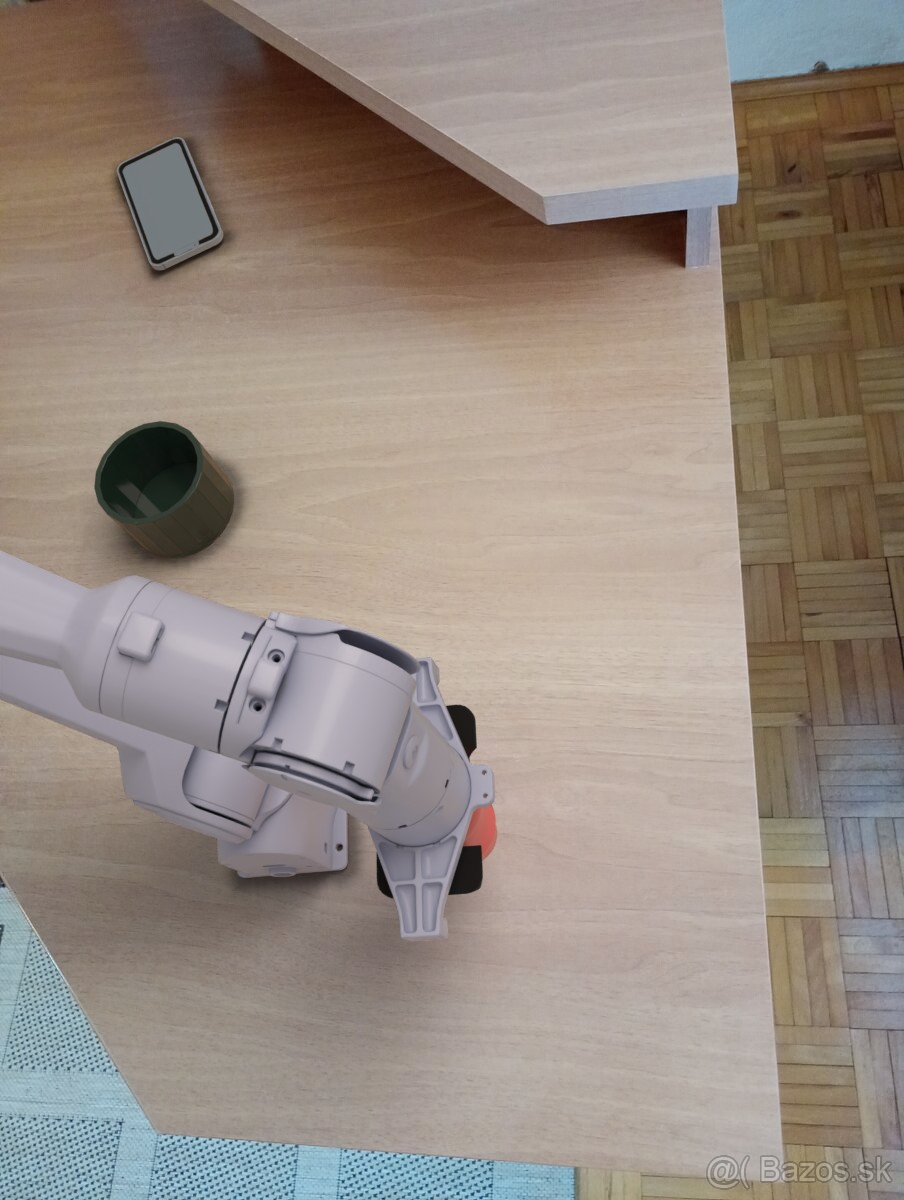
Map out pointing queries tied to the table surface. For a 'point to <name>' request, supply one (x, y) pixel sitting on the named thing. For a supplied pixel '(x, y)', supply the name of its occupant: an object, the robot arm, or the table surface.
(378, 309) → the table surface
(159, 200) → the smartphone
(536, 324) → the table surface
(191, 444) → the cup
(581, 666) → the table surface
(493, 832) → the figurine
